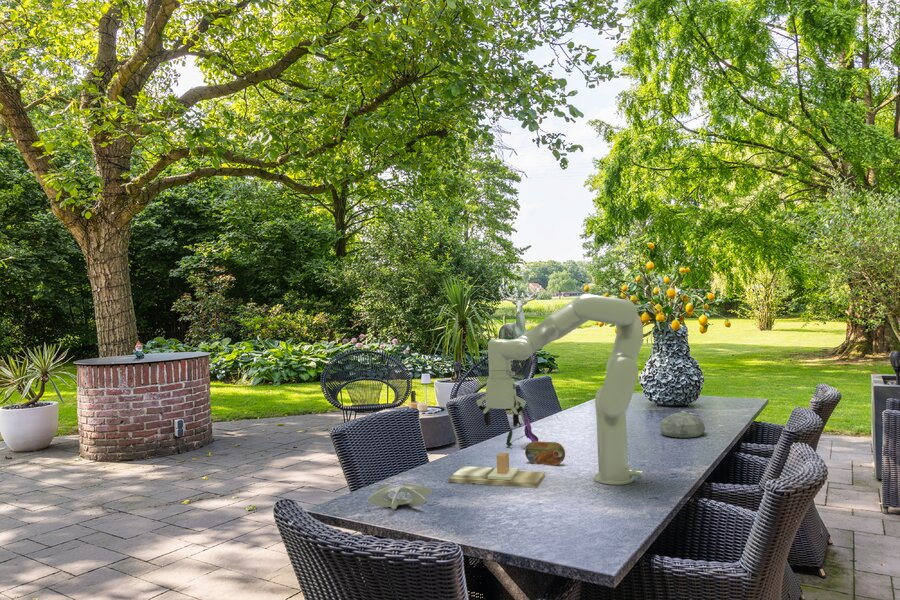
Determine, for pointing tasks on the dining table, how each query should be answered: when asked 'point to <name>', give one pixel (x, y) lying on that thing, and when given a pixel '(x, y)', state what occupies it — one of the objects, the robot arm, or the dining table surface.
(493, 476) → the stub
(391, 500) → the sculpture
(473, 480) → the ticket pad
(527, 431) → the flower
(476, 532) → the dining table surface
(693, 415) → the decorative stone
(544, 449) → the tin
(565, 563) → the dining table surface
